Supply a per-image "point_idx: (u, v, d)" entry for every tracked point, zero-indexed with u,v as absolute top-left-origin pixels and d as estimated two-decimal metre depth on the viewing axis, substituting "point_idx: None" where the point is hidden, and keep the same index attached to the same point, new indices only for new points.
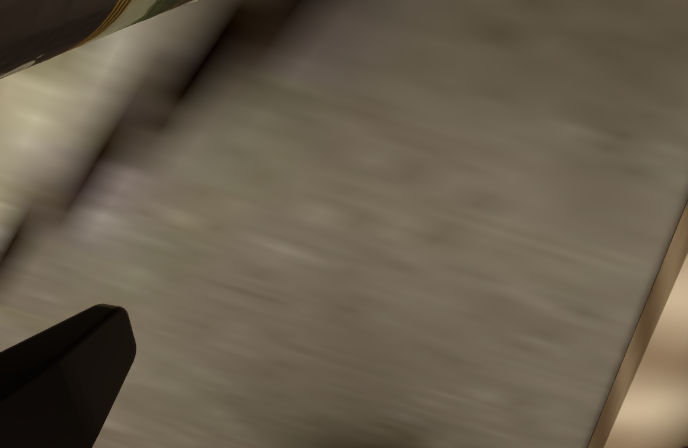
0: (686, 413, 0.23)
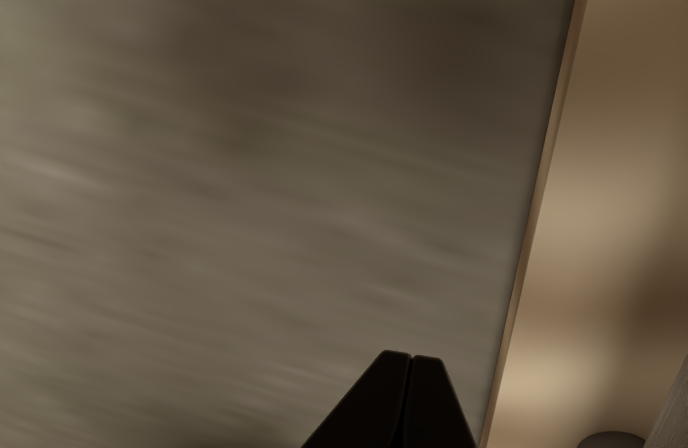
0: (588, 387, 0.17)
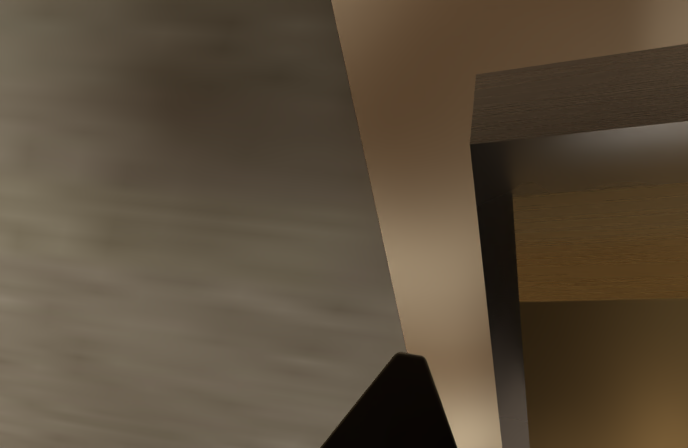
0: None
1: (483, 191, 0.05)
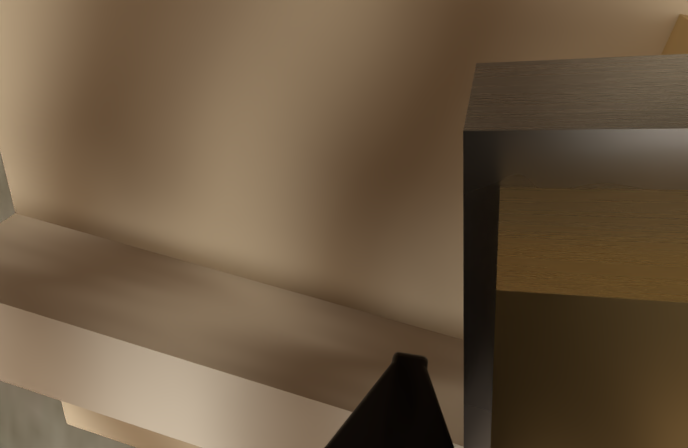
0: None
1: (471, 179, 0.05)
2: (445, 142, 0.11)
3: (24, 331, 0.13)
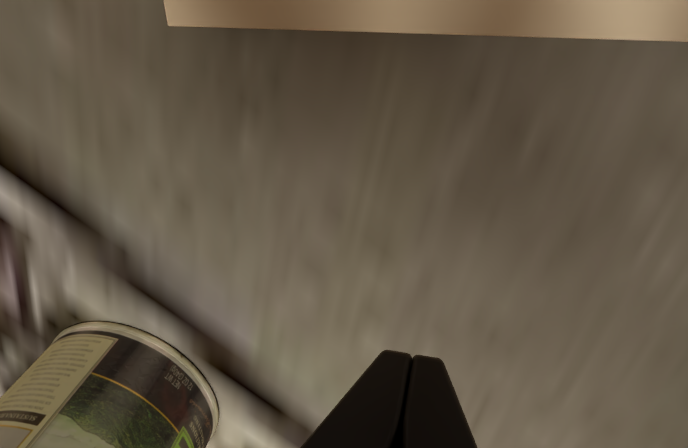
0: None
1: None
2: None
3: None
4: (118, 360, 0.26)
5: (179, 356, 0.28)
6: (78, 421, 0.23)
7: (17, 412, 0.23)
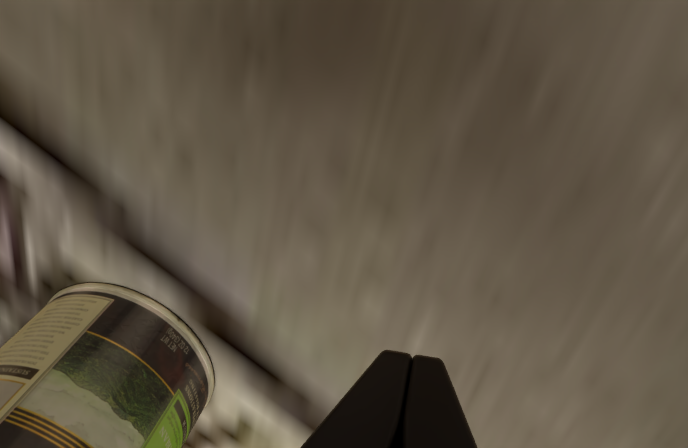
0: None
1: None
2: None
3: None
4: (113, 320, 0.25)
5: (176, 319, 0.27)
6: (72, 376, 0.23)
7: (10, 367, 0.23)
